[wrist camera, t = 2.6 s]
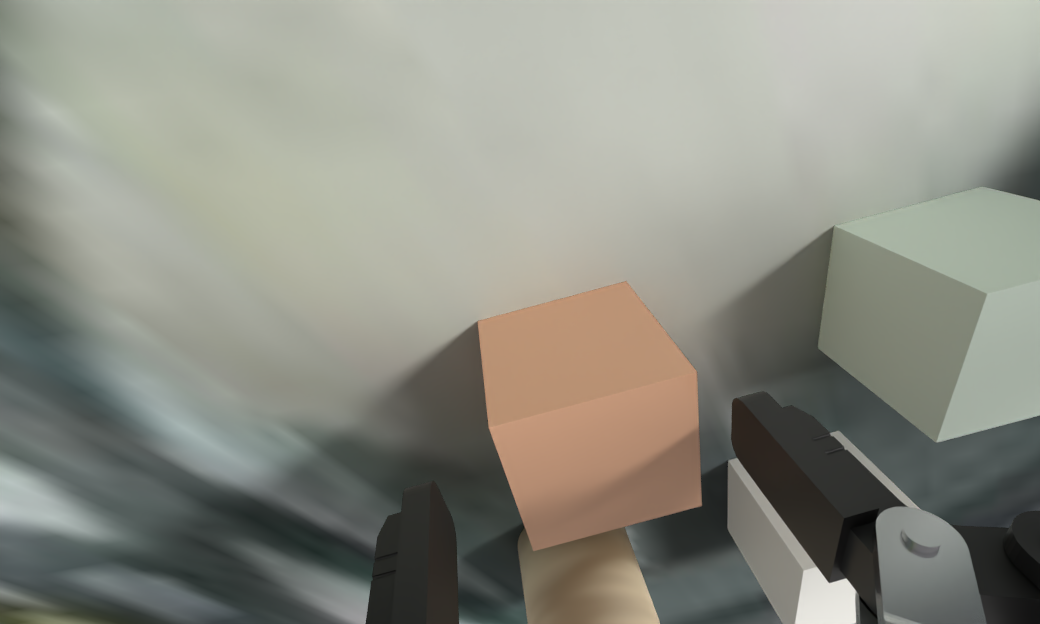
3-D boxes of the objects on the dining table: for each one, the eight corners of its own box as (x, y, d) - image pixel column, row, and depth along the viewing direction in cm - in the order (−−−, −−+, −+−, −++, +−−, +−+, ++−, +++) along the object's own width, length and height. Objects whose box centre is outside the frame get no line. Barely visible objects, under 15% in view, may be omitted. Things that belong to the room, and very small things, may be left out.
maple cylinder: (616, 489, 20) (663, 610, 16) (628, 555, 22) (671, 674, 18) (505, 519, 20) (521, 648, 16) (530, 581, 22) (549, 707, 18)
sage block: (979, 186, 15) (1194, 239, 11) (942, 313, 17) (1104, 398, 13) (832, 224, 15) (987, 293, 11) (816, 346, 17) (936, 442, 13)
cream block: (837, 429, 20) (944, 532, 16) (824, 501, 22) (913, 607, 18) (726, 458, 20) (803, 570, 16) (726, 527, 22) (792, 640, 18)
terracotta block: (625, 280, 15) (696, 371, 11) (639, 394, 17) (701, 505, 13) (477, 319, 15) (488, 427, 11) (512, 428, 17) (533, 551, 13)
